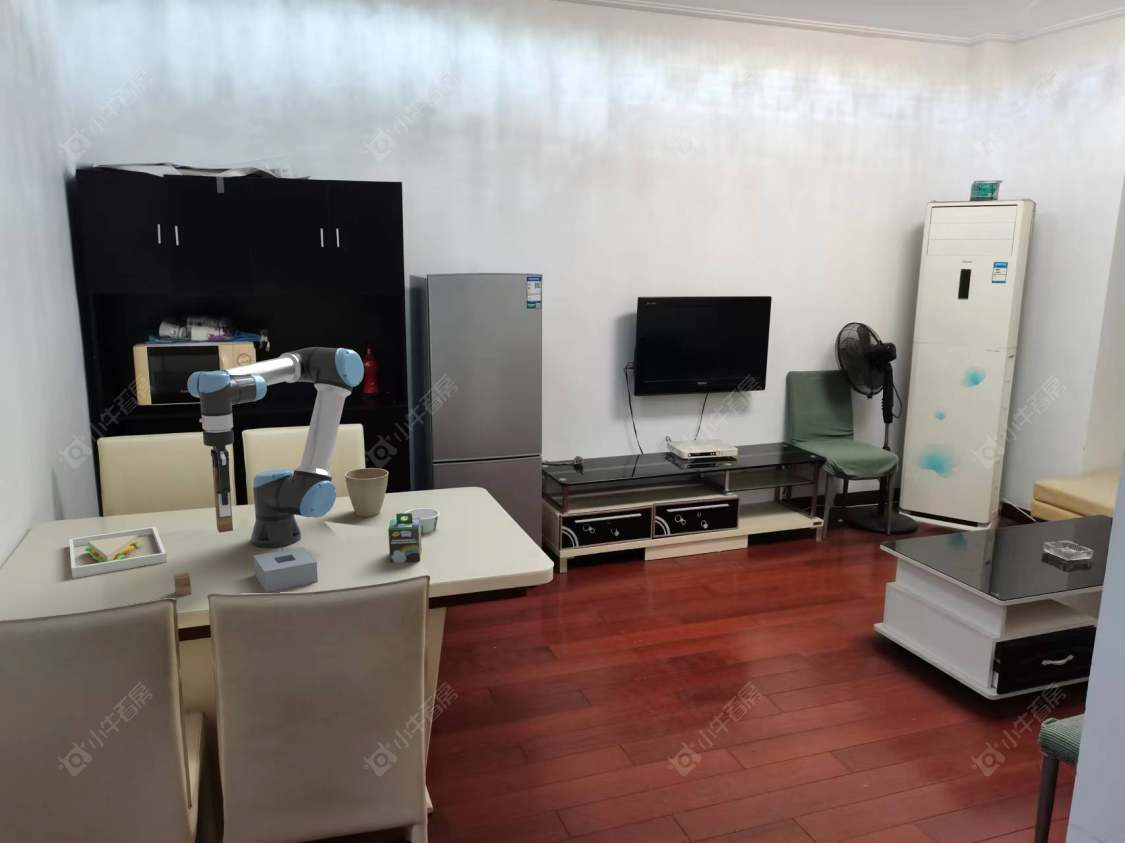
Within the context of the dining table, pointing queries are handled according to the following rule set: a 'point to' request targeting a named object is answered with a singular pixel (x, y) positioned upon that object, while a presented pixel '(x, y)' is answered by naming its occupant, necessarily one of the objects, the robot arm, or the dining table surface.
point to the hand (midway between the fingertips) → (224, 513)
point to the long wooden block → (222, 522)
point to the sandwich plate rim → (117, 564)
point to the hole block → (285, 569)
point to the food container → (425, 518)
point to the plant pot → (366, 490)
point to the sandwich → (112, 548)
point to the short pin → (182, 584)
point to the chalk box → (405, 539)
